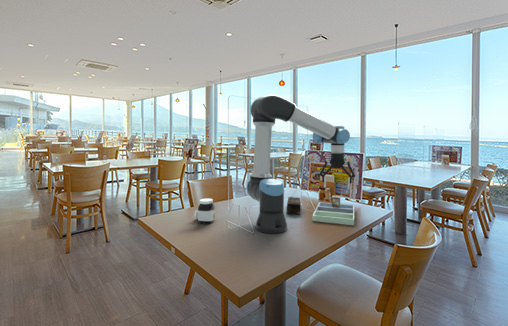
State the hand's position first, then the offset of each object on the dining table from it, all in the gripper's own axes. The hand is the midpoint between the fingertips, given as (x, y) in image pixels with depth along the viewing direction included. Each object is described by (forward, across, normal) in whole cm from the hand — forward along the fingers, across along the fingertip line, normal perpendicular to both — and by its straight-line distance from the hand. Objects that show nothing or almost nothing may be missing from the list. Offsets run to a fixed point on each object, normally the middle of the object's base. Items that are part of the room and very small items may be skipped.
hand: (336, 188), depth 160 cm
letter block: (+14, 0, 0) cm, 14 cm away
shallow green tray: (+14, 0, +10) cm, 17 cm away
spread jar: (+13, +65, +44) cm, 79 cm away
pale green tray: (+13, 0, +20) cm, 24 cm away
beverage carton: (+14, +24, +8) cm, 29 cm away
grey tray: (+14, 0, 0) cm, 14 cm away
